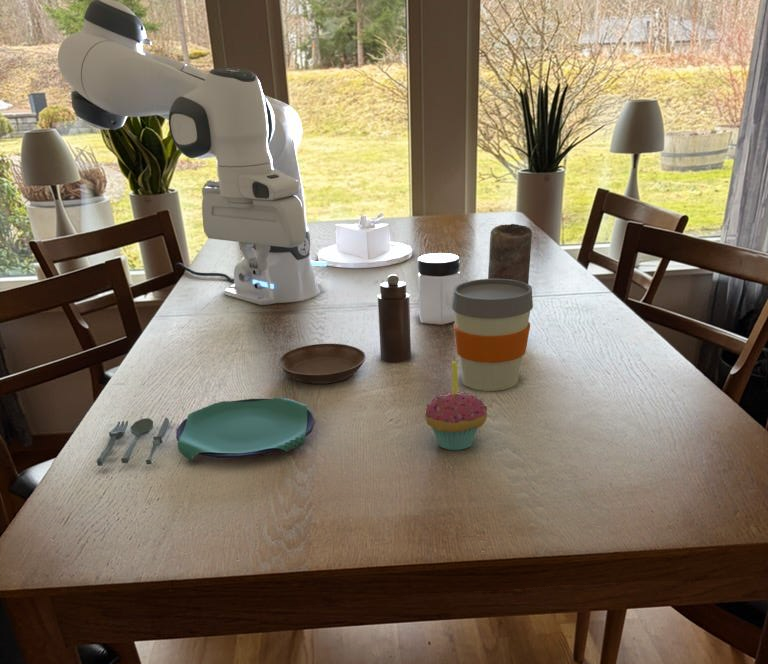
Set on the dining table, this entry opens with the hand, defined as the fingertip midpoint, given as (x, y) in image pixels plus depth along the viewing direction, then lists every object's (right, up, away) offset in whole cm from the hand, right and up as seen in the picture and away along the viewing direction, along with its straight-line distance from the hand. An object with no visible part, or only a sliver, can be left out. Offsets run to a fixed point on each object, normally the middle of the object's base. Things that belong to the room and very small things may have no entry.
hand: (257, 269), depth 134 cm
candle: (+44, -10, +12) cm, 47 cm away
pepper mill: (+24, -14, +6) cm, 28 cm away
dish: (+17, +26, +75) cm, 81 cm away
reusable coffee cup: (+39, -20, -5) cm, 44 cm away
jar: (+33, -2, +25) cm, 41 cm away
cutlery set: (-3, -31, -20) cm, 37 cm away
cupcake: (+32, -32, -25) cm, 51 cm away
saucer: (+11, -18, +1) cm, 21 cm away
